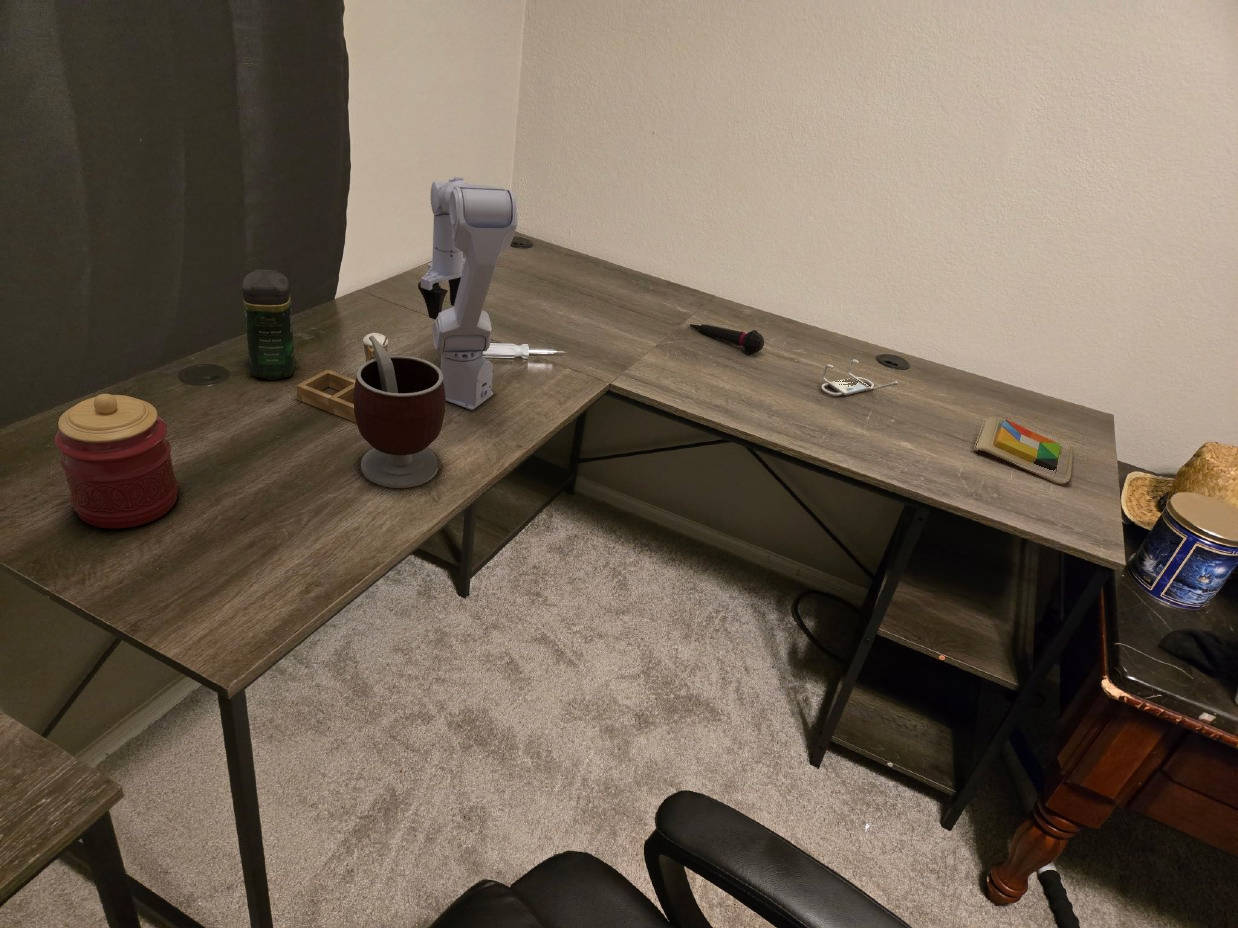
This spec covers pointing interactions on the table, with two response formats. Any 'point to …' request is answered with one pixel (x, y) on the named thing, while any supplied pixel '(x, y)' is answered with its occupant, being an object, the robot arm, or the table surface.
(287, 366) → the coffee jar
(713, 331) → the microphone
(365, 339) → the milkshake
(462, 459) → the table surface
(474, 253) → the robot arm
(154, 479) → the kitchen canister
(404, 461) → the mate gourd
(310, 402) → the rack
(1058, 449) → the wooden puzzle
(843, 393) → the wall mount rack
